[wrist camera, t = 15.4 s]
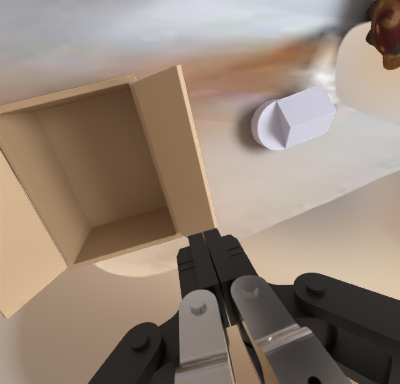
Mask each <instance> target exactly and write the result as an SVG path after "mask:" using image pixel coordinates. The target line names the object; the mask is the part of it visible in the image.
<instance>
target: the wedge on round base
mask: <svg viewBox="0 0 400 384" xmlns="http://www.w3.org/2000/svg"><path fill="white" fill-rule="evenodd" d="M336 111H337V110H336V109H335V107H334V105H333V104H332V102H331V100H330V99H329V97H328V95H327V93H326V92H325V90H324V88H323V87H322V85H321V84H320V85H317V86H315V87H312V88H309V89H307V90H304V91H301V92H299V93H296V94H293V95H291V96H288V97H285V98H283V99H273V100H269V101H266V102H264V103H263V104H262V105H260V106H259V107H258V108H257V110H256V111H255V113H254V115H253V117H252V120H251V132H252V135H253V137H254V139H255V140H256V142H257V143H259V144H260V145H262V146H264V147H266V148H269V149H271V150H283V149H286V148H289V147H292V146H294V145H297V144H300V143H302V142H305V141H307V140H310V139H313V138H315V137H318V136H321V135H323V134H326V133H327V131H328V128H329V126H330V124H331V122H332V120H333V117H334V115H335V113H336Z"/></svg>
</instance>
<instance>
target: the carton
mask: <svg viewBox="0 0 400 384" xmlns="http://www.w3.org/2000/svg"><path fill="white" fill-rule="evenodd" d="M137 81H139V80H138V79H137V78H136V77H135V76H134V75H133V74H130V75H126V76H122V77H118V78H114V79H110V80H105V81H101V82H97V83H93V84H89V85H84V86H80V87H76V88H72V89H68V90H64V91H59V92H55V93H51V94H47V95H43V96H38V97H34V98H30V99H26V100H22V101H18V102H13V103H9V104H5V105H1V106H0V148H1V149H2V151H3V153H4V155H5V156H6V158H7V160H8V162H9V163H10V165H11V167H12V169H13V170H14V172H15V174H16V176H17V177H18V179H19V181H20V183H21V184H22V186H23V188H24V190H25V191H26V193H27V195H28V197H29V198H30V200H31V202H32V203H33V205H34V207H35V209H36V211H37V212H38V214H39V216H40V218H41V219H42V221H43V223H44V224H45V226H46V228H47V230H48V231H49V233H50V235H51V237H52V238H53V240H54V242H55V243H56V245H57V247H58V249H59V251H60V252H61V254H62V256H63V258H64V259H65V261H66V263H67V265H68V266H69V268H70V270H72V269H76V268H79V267H82V266H86V265H89V264H93V263H96V262H99V261H103V260H106V259H110V258H113V257H116V256H120V255H123V254H127V253H130V252H133V251H137V250H140V249H144V248H147V247H150V246H154V245H157V244H161V243H164V242H167V241H171V240H174V239H178V238H181V237H183V235H181V234H180V232H179V228H178V225H177V222H176V219H175V216H174V212H173V209H172V206H171V203H170V199H169V196H168V193H167V190H166V186H165V183H164V180H163V177H162V174H161V170H160V167H159V164H158V161H157V157H156V154H155V151H154V148H153V145H152V141H151V138H150V135H149V132H148V128H147V125H146V122H145V119H144V115H143V112H142V109H141V106H140V103H139V99H138V96H137V93H136V90H135V86H134V82H137Z"/></svg>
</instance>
